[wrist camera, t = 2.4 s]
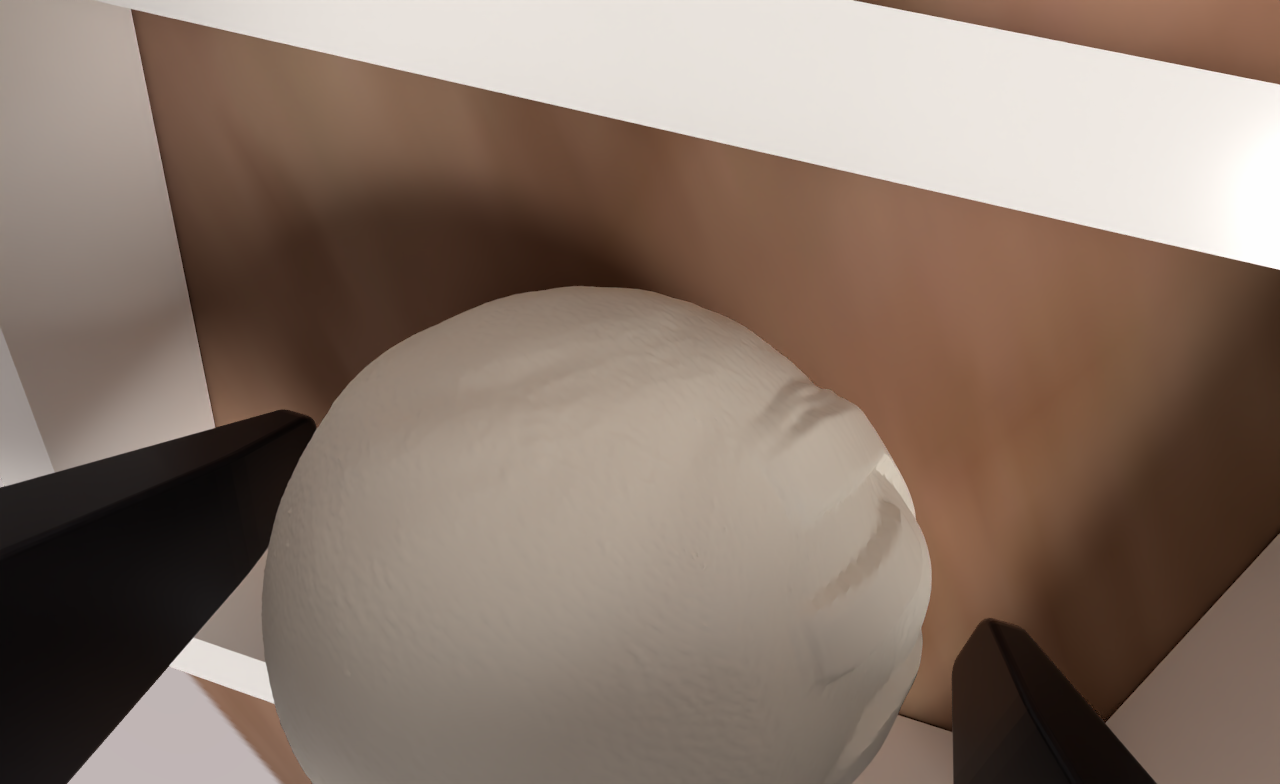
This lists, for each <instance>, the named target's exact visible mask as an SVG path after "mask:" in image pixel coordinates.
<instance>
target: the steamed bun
mask: <svg viewBox="0 0 1280 784" xmlns="http://www.w3.org/2000/svg"><path fill="white" fill-rule="evenodd" d="M263 578H264V579H263V592H262V613H261V616H262V634H263V638H262V639H263V644H264V657H265V662H266V666H267V671H268V676H269V683H270V686H271V690H272V696H273V699H274V703H275V707H276V711H277V714H278V716H279V718H280V724H281V726H282V728H283V730H284V732H285V734H286V737H287V739H288V742H289V744H290V746H291V748H292V751H293V753H294V755H295V756H296V758H297V760H298V762H299V764H300V765H301V767H302V769H303V770H304V772H305V774H306V775H307V776H308V777H309V778H310V780H311V782H312V784H852V783H853V782H854V781H855V780H856V779H857V778H858V777H859V776H860V775H861V773H862V772H863V771H864V770H865V769H866V768H867V766H868V765H869V764H870V763H871V761H872V760H873V759H874V757H875V756H876V755H877V753H878V752H879V750H880V749H881V747H882V745H883V744H884V741H885V740H886V738H887V736H888V734H889V732H890V730H891V728H892V726H893V724H894V722H895V720H896V718H897V715H898V713H899V711H900V708H901V706H902V704H903V702H904V700H905V698H906V696H907V694H908V692H909V690H910V688H911V686H912V685H913V682H914V680H915V678H916V675H917V672H918V669H919V665H920V661H921V654H922V642H923V639H922V631H921V627H922V624H923V621H924V618H925V615H926V611H927V608H928V604H929V600H930V593H931V581H932V575H931V562H930V557H929V552H928V548H927V544H926V541H925V538H924V535H923V533H922V530H921V528H920V526H919V525H918V523H917V522H916V516H915V510H914V505H913V502H912V499H911V496H910V493H909V490H908V488H907V485H906V483H905V481H904V479H903V477H902V475H901V473H900V472H899V470H898V468H897V466H896V464H895V463H894V461H893V459H892V457H891V455H890V454H889V452H888V450H887V449H886V447H885V445H884V443H883V442H882V440H881V439H880V437H879V435H878V434H877V432H876V430H875V429H874V427H873V426H872V424H871V423H870V421H869V420H868V419H867V417H866V416H865V414H864V413H863V411H862V410H861V409H860V408H859V407H858V406H856V405H855V404H853V403H852V402H849V401H848V400H846V399H844V398H842V397H838V396H837V395H836V394H835V393H834V392H833V391H832V390H831V389H821V388H819V387H817V386H815V385H814V384H813V382H811V381H810V380H809V378H808V377H807V376H806V375H805V374H804V373H803V372H802V371H801V370H800V369H798V368H797V367H796V366H795V365H794V364H793V363H792V362H791V361H790V360H788V358H787V357H785V356H783V355H782V354H780V353H779V352H778V351H777V350H775V349H774V348H772V346H771V345H770V344H768V343H767V342H765V341H764V340H763V339H761V338H760V337H758V336H757V335H756V334H755V333H753V332H752V331H750V330H749V329H748V328H747V327H745V326H743V325H741V324H740V323H738V322H736V321H734V320H733V319H730V318H728V317H727V316H723V315H721V314H719V313H717V312H713V311H711V310H708V309H705V308H702V307H700V306H698V305H696V304H694V303H691V302H687V301H684V300H680V299H676V298H671V297H669V296H666V295H663V294H659V293H656V292H653V291H646V290H641V289H631V288H621V287H620V288H617V287H614V288H611V287H594V286H591V287H589V286H571V287H560V288H553V289H548V290H541V291H532V292H525V293H521V294H514V295H511V296H507V297H504V298H500V299H496V300H494V301H491V302H487V303H484V304H483V305H479V306H477V307H475V308H472V309H470V310H468V311H465V312H463V313H461V314H458V315H455V316H454V317H452V318H449V319H447V320H445V321H442V322H441V323H440V324H437V325H435V326H432V327H429V328H428V329H426V330H423V331H422V332H418V333H416V334H415V335H412V336H411V337H409V338H407V339H405V340H404V341H402V342H400V343H398V344H397V345H395V346H394V347H392V348H390V349H388V350H387V351H385V352H384V353H383V354H381V355H380V356H379V357H378V358H377V359H375V360H374V361H372V362H371V363H370V364H369V365H368V366H366V367H365V368H364V369H363V370H362V371H361V372H360V373H359V374H358V375H357V376H356V377H355V378H354V379H353V380H352V381H350V383H349V384H348V385H347V386H346V388H345V389H344V390H343V391H342V393H341V394H340V396H338V397H337V399H336V400H335V401H334V402H333V404H332V406H331V408H330V409H329V412H328V413H327V414H326V416H325V418H324V419H323V420H322V422H321V423H320V426H319V427H318V428H317V429H316V431H315V432H314V434H313V437H312V438H311V440H310V442H309V443H308V444H307V447H306V449H305V450H304V451H303V454H302V456H301V457H300V458H299V462H298V464H297V466H296V467H295V470H294V472H293V474H292V476H291V479H290V480H289V482H288V484H287V487H286V489H285V492H284V495H283V497H282V498H281V502H280V505H279V507H278V511H277V513H276V518H275V521H274V524H273V530H272V534H271V537H270V542H269V546H268V554H267V560H266V566H265V569H264V577H263Z"/></svg>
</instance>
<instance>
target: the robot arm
mask: <svg viewBox="0 0 1280 784" xmlns="http://www.w3.org/2000/svg"><path fill="white" fill-rule="evenodd" d="M315 431H316V424H315V422H314V420H313V419H312V418H311V417H309V416H307V415H304V414H300V413H297V412H293V411H290V410H278V411H274V412H270V413H267V414H263V415H260V416H256V417H252V418H249V419H245V420H242V421H238V422H234V423H231V424H227V425H224V426H220V427H216V428H213V429H209V430H206V431H202V432H198V433H195V434H191V435H188V436H184V437H180V438H177V439H173V440H170V441H166V442H163V443H159V444H155V445H152V446H148V447H145V448H141V449H137V450H134V451H130V452H127V453H123V454H119V455H116V456H112V457H109V458H105V459H101V460H98V461H94V462H91V463H87V464H83V465H80V466H76V467H73V468H69V469H65V470H62V471H58V472H55V473H51V474H47V475H44V476H40V477H37V478H33V479H29V480H26V481H22V482H19V483H15V484H11V485H8V486H4V487H1V488H0V784H67V783H68V782H69V781H70V780H71V778H72V777H73V776H74V775H75V774H76V773H77V771H78V770H79V769H80V768H81V767H82V766H83V765H84V763H85V762H86V761H87V760H88V759H89V757H90V756H91V755H92V754H93V753H94V752H95V751H96V750H97V748H98V747H99V746H100V745H101V744H102V743H103V742H104V740H105V739H106V738H107V737H108V736H109V735H110V733H111V732H112V731H113V730H114V729H115V727H117V725H118V724H119V723H120V722H121V721H122V720H123V718H124V717H125V716H126V715H127V714H128V713H129V712H130V710H131V709H132V708H133V707H134V706H135V705H136V703H137V702H138V701H139V700H140V699H141V697H142V696H143V695H144V694H145V693H146V692H147V691H148V690H149V688H150V687H151V686H152V685H153V684H154V683H155V682H156V680H157V679H158V678H159V677H160V676H161V675H162V673H163V672H164V671H165V670H166V669H167V668H168V667H169V665H170V664H171V663H172V662H173V661H174V660H175V658H176V657H177V656H178V655H179V654H180V653H181V652H182V650H183V649H184V648H185V647H186V646H187V645H188V643H189V642H190V641H191V640H192V639H193V638H194V637H195V635H196V634H197V633H198V632H199V631H200V630H201V629H202V627H203V626H204V625H205V624H206V623H207V622H208V620H209V619H210V618H211V617H212V616H213V615H214V614H215V612H216V611H217V610H218V609H219V608H220V607H221V605H222V604H223V603H224V602H225V601H226V600H227V599H228V597H229V596H230V595H231V594H232V593H233V592H234V590H235V589H236V588H237V587H238V586H239V585H240V583H241V582H242V581H243V580H244V579H245V577H246V576H247V575H248V574H249V572H250V571H251V570H252V569H253V567H254V566H255V565H256V563H257V562H258V561H259V559H260V558H261V557H262V555H263V554H264V553H265V551H266V550H267V548H268V546H269V542H270V537H271V534H272V530H273V524H274V521H275V518H276V513H277V511H278V507H279V505H280V502H281V498H282V497H283V495H284V492H285V489H286V487H287V484H288V482H289V480H290V479H291V476H292V474H293V472H294V470H295V467H296V466H297V464H298V462H299V458H300V457H301V456H302V454H303V451H304V450H305V449H306V447H307V444H308V443H309V442H310V440H311V438H312V437H313V434H314V432H315ZM952 729H953V784H1157V783H1156V782H1155V781H1154V779H1153V778H1152V777H1151V776H1150V775H1149V774H1148V773H1147V771H1146V770H1145V769H1144V768H1143V767H1142V766H1141V764H1140V763H1139V762H1138V761H1137V760H1136V759H1135V757H1134V756H1133V755H1132V754H1131V753H1130V752H1129V750H1128V749H1127V748H1126V747H1125V746H1124V745H1123V743H1122V742H1121V741H1120V740H1119V739H1118V738H1117V736H1116V735H1115V734H1114V733H1113V732H1112V731H1111V729H1110V728H1109V727H1108V726H1107V725H1106V724H1105V723H1104V721H1103V720H1102V719H1101V718H1100V717H1099V716H1098V714H1097V713H1096V712H1095V711H1094V710H1093V709H1092V707H1091V706H1090V705H1089V704H1088V703H1087V702H1086V700H1085V699H1084V698H1083V697H1082V696H1081V695H1080V693H1079V692H1078V691H1077V690H1076V689H1075V688H1074V686H1073V685H1072V684H1071V683H1070V682H1069V681H1068V680H1067V678H1066V677H1065V676H1064V675H1063V674H1062V673H1061V671H1060V670H1059V669H1058V668H1057V667H1056V666H1055V664H1054V663H1053V662H1052V661H1051V660H1050V659H1049V657H1048V656H1047V655H1046V654H1045V653H1044V652H1043V650H1042V649H1041V648H1040V647H1039V646H1038V645H1037V643H1036V642H1035V641H1034V640H1033V639H1032V638H1031V636H1030V635H1029V634H1028V633H1027V632H1026V631H1025V630H1024V629H1022V628H1021V627H1019V626H1017V625H1014V624H1010V623H1007V622H1003V621H1000V620H997V619H993V618H986V619H984V620H982V621H981V622H980V623H979V625H978V626H977V627H976V629H975V630H974V632H973V634H972V635H971V637H970V638H969V640H968V641H967V643H966V644H965V646H964V647H963V649H962V650H961V652H960V653H959V655H958V656H957V658H956V660H955V663H954V666H953V671H952Z"/></svg>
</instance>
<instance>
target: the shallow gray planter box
mask: <svg viewBox="0 0 1280 784" xmlns="http://www.w3.org/2000/svg"><path fill="white" fill-rule="evenodd" d="M131 9H134V10H138V11H143V12H147V13H151V14H156V15H160V16H165V17H169V18H173V19H178V20H182V21H187V22H191V23H195V24H200V25H204V26H209V27H213V28H217V29H222V30H226V31H231V32H235V33H239V34H244V35H248V36H253V37H257V38H262V39H266V40H270V41H275V42H279V43H284V44H288V45H292V46H297V47H301V48H306V49H310V50H314V51H319V52H323V53H328V54H332V55H336V56H341V57H345V58H350V59H354V60H358V61H363V62H367V63H372V64H376V65H380V66H385V67H389V68H394V69H398V70H402V71H407V72H411V73H416V74H420V75H424V76H429V77H433V78H438V79H442V80H446V81H451V82H455V83H460V84H464V85H468V86H473V87H477V88H482V89H486V90H490V91H495V92H499V93H504V94H508V95H513V96H517V97H521V98H526V99H530V100H535V101H539V102H543V103H548V104H552V105H557V106H561V107H565V108H570V109H574V110H579V111H583V112H587V113H592V114H596V115H601V116H605V117H609V118H614V119H618V120H623V121H627V122H631V123H636V124H640V125H645V126H649V127H653V128H658V129H662V130H667V131H671V132H675V133H680V134H684V135H689V136H693V137H697V138H702V139H706V140H711V141H715V142H719V143H724V144H728V145H733V146H737V147H741V148H746V149H750V150H755V151H759V152H763V153H768V154H772V155H777V156H781V157H786V158H790V159H794V160H799V161H803V162H808V163H812V164H816V165H821V166H825V167H830V168H834V169H838V170H843V171H847V172H852V173H856V174H860V175H865V176H869V177H874V178H878V179H882V180H887V181H891V182H896V183H900V184H904V185H909V186H913V187H918V188H922V189H926V190H931V191H935V192H940V193H944V194H948V195H953V196H957V197H962V198H966V199H970V200H975V201H979V202H984V203H988V204H992V205H997V206H1001V207H1006V208H1010V209H1014V210H1019V211H1023V212H1028V213H1032V214H1037V215H1041V216H1045V217H1050V218H1054V219H1059V220H1063V221H1067V222H1072V223H1076V224H1081V225H1085V226H1089V227H1094V228H1098V229H1103V230H1107V231H1111V232H1116V233H1120V234H1125V235H1129V236H1133V237H1138V238H1142V239H1147V240H1151V241H1155V242H1160V243H1164V244H1169V245H1173V246H1177V247H1182V248H1186V249H1191V250H1195V251H1199V252H1204V253H1208V254H1213V255H1217V256H1221V257H1226V258H1230V259H1235V260H1239V261H1243V262H1248V263H1252V264H1257V265H1261V266H1265V267H1270V268H1274V269H1279V270H1280V85H1279V84H1274V83H1269V82H1264V81H1259V80H1254V79H1248V78H1243V77H1238V76H1233V75H1228V74H1223V73H1218V72H1213V71H1208V70H1203V69H1198V68H1193V67H1188V66H1183V65H1178V64H1173V63H1167V62H1162V61H1157V60H1152V59H1147V58H1142V57H1137V56H1132V55H1127V54H1122V53H1117V52H1112V51H1107V50H1102V49H1097V48H1092V47H1087V46H1081V45H1076V44H1071V43H1066V42H1061V41H1056V40H1051V39H1046V38H1041V37H1036V36H1031V35H1026V34H1021V33H1016V32H1011V31H1006V30H1000V29H995V28H990V27H985V26H980V25H975V24H970V23H965V22H960V21H955V20H950V19H945V18H940V17H935V16H930V15H925V14H920V13H914V12H909V11H904V10H899V9H894V8H889V7H884V6H879V5H874V4H869V3H864V2H859V1H854V0H0V477H1V480H2V482H3V484H4V486H8V485H11V484H15V483H19V482H22V481H26V480H29V479H33V478H37V477H40V476H44V475H47V474H51V473H55V472H58V471H62V470H65V469H69V468H73V467H76V466H80V465H83V464H87V463H91V462H94V461H98V460H101V459H105V458H109V457H112V456H116V455H119V454H123V453H127V452H130V451H134V450H137V449H141V448H145V447H148V446H152V445H155V444H159V443H163V442H166V441H170V440H173V439H177V438H180V437H184V436H188V435H191V434H195V433H198V432H202V431H206V430H209V429H213V428H215V423H214V418H213V414H212V409H211V404H210V399H209V394H208V389H207V384H206V379H205V374H204V369H203V364H202V359H201V354H200V349H199V344H198V339H197V334H196V329H195V325H194V320H193V315H192V310H191V305H190V300H189V295H188V290H187V285H186V280H185V275H184V270H183V265H182V260H181V255H180V250H179V245H178V240H177V235H176V231H175V226H174V221H173V216H172V211H171V206H170V201H169V196H168V191H167V186H166V181H165V176H164V171H163V166H162V161H161V156H160V151H159V146H158V142H157V137H156V132H155V127H154V122H153V117H152V112H151V107H150V102H149V97H148V92H147V87H146V82H145V77H144V72H143V67H142V62H141V57H140V53H139V48H138V43H137V38H136V33H135V28H134V23H133V18H132V13H131ZM267 554H268V548H267V550H266V551H265V553H264V554H263V555H262V557H261V558H260V559H259V561H258V562H257V563H256V565H255V566H254V567H253V569H252V570H251V571H250V572H249V574H248V575H247V576H246V577H245V579H244V580H243V581H242V582H241V583H240V585H239V586H238V587H237V588H236V589H235V590H234V592H233V593H232V594H231V595H230V596H229V597H228V599H227V600H226V601H225V602H224V603H223V604H222V605H221V607H220V608H219V609H218V610H217V611H216V612H215V614H214V615H213V616H212V617H211V618H210V619H209V620H208V622H207V623H206V624H205V625H204V626H203V627H202V629H201V630H200V631H199V632H198V633H197V634H196V635H195V637H194V638H193V639H192V640H191V641H190V642H189V643H188V645H187V646H186V647H185V648H184V649H183V650H182V652H181V653H180V654H179V655H178V656H177V657H176V658H175V660H174V661H173V662H172V663H171V664H170V665H169V667H172V668H175V669H178V670H180V671H183V672H186V673H189V674H192V675H194V676H197V677H200V678H203V679H206V680H209V681H211V682H214V683H217V684H220V685H223V686H226V687H228V688H231V689H234V690H237V691H240V692H243V693H246V694H248V695H251V696H254V697H257V698H260V699H263V700H265V701H268V702H271V703H274V699H273V696H272V690H271V686H270V683H269V676H268V671H267V666H266V662H265V657H264V644H263V639H262V638H263V634H262V616H261V613H262V592H263V579H264V578H263V577H264V569H265V566H266V560H267ZM274 704H275V703H274ZM1105 724H1106V725H1107V726H1108V727H1109V728H1110V729H1111V731H1112V732H1113V733H1114V734H1115V735H1116V736H1117V738H1118V739H1119V740H1120V741H1121V742H1122V743H1123V745H1124V746H1125V747H1126V748H1127V749H1128V750H1129V752H1130V753H1131V754H1132V755H1133V756H1134V757H1135V759H1136V760H1137V761H1138V762H1139V763H1140V764H1141V766H1142V767H1143V768H1144V769H1145V770H1146V771H1147V773H1148V774H1149V775H1150V776H1151V777H1152V778H1153V779H1154V781H1155V782H1156V783H1157V784H1280V533H1279V535H1278V536H1277V537H1276V538H1275V539H1274V540H1273V541H1272V542H1271V543H1270V544H1269V545H1268V547H1267V548H1266V549H1265V550H1264V551H1263V552H1262V553H1261V554H1260V555H1259V556H1258V557H1257V558H1256V560H1255V561H1254V562H1253V563H1252V564H1251V565H1250V566H1249V567H1248V568H1247V569H1246V570H1245V572H1244V573H1243V574H1242V575H1241V576H1240V577H1239V578H1238V579H1237V580H1236V581H1235V582H1234V583H1233V585H1232V586H1231V587H1230V588H1229V589H1228V590H1227V591H1226V592H1225V593H1224V594H1223V595H1222V597H1221V598H1220V599H1219V600H1218V601H1217V602H1216V603H1215V604H1214V605H1213V606H1212V607H1211V609H1210V610H1209V611H1208V612H1207V613H1206V614H1205V615H1204V616H1203V617H1202V618H1201V619H1200V620H1199V622H1198V623H1197V624H1196V625H1195V626H1194V627H1193V628H1192V629H1191V630H1190V631H1189V632H1188V634H1187V635H1186V636H1185V637H1184V638H1183V639H1182V640H1181V641H1180V642H1179V643H1178V644H1177V645H1176V647H1175V648H1174V649H1173V650H1172V651H1171V652H1170V653H1169V654H1168V655H1167V656H1166V657H1165V659H1164V660H1163V661H1162V662H1161V663H1160V664H1159V665H1158V666H1157V667H1156V668H1155V669H1154V671H1153V672H1152V673H1151V674H1150V675H1149V676H1148V677H1147V678H1146V679H1145V680H1144V681H1143V682H1142V684H1141V685H1140V686H1139V687H1138V688H1137V689H1136V690H1135V691H1134V692H1133V693H1132V694H1131V696H1130V697H1129V698H1128V699H1127V700H1126V701H1125V702H1124V703H1123V704H1122V705H1121V706H1120V708H1119V709H1118V710H1117V711H1116V712H1115V713H1114V714H1113V715H1112V716H1111V717H1110V718H1109V719H1108V721H1107V722H1106V723H1105ZM852 784H953V732H950V731H947V730H944V729H941V728H937V727H934V726H931V725H928V724H925V723H922V722H919V721H915V720H912V719H909V718H906V717H903V716H900V715H897V718H896V720H895V722H894V724H893V726H892V728H891V730H890V732H889V734H888V736H887V738H886V740H885V741H884V744H883V745H882V747H881V749H880V750H879V752H878V753H877V755H876V756H875V757H874V759H873V760H872V761H871V763H870V764H869V765H868V766H867V768H866V769H865V770H864V771H863V772H862V773H861V775H860V776H859V777H858V778H857V779H856V780H855V781H854V782H853V783H852Z"/></svg>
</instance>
